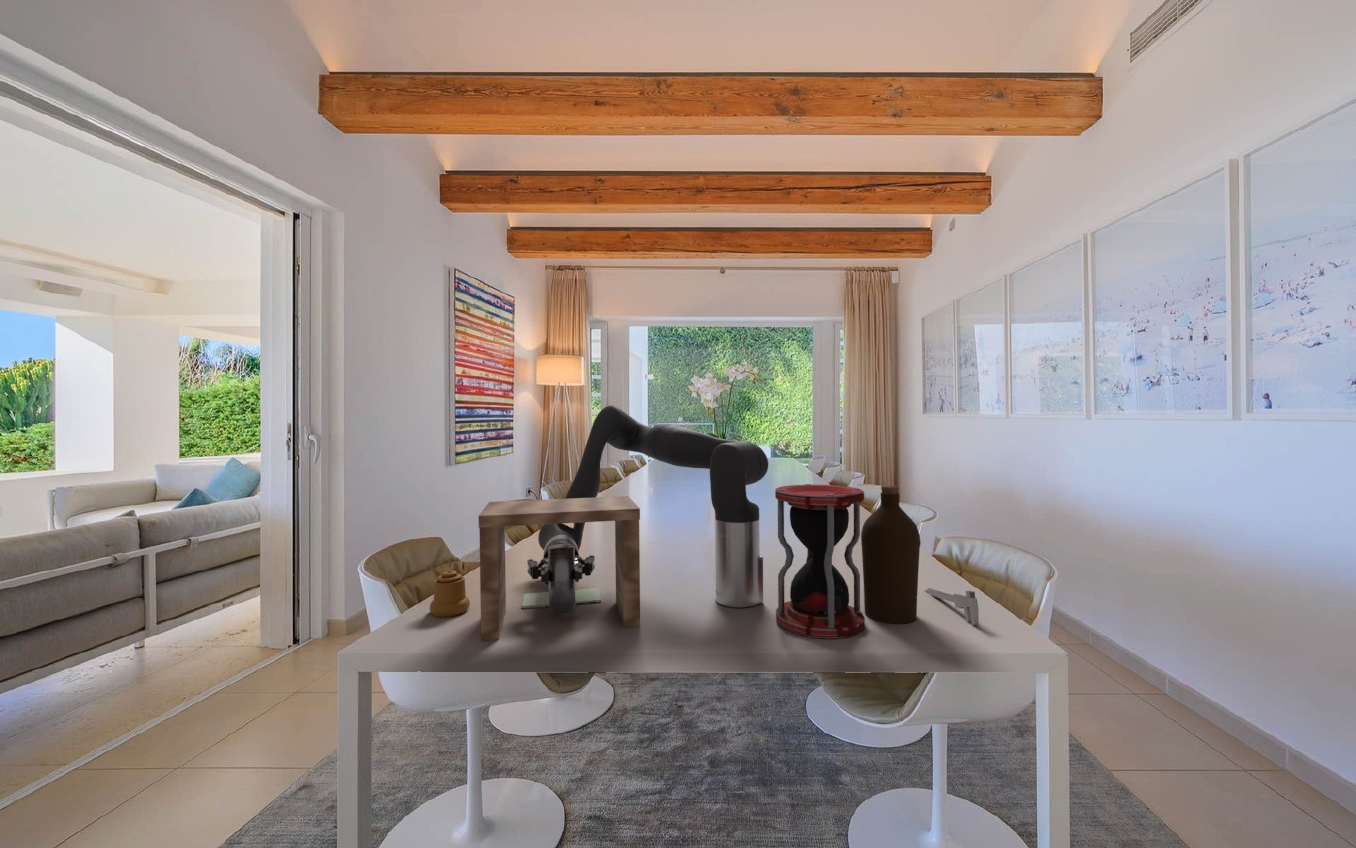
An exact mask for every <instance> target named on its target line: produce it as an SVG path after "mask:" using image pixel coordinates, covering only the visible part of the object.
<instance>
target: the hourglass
mask: <svg viewBox="0 0 1356 848" xmlns="http://www.w3.org/2000/svg"><path fill="white" fill-rule="evenodd" d="M774 493H775V499H776V500H777V538H778V540H779V543H780V545H781V546H782V548H784V551H785V562H784V564H783V566H782V568H780V569H779V572H778V576H777V580H778V581H777V582H778V583H777V585H778V586H777V591H778V592H777V594H778V595H777V597H778V598H777V601H778V605H777V608H776V609H775V620H776V623H777V624H778V625H779V626H780V627H781V628H782V629H784V630H786V631H788V632H790V633H793V634H796V635H800V636H805V637H810V638H815V639H816V638H817V639H831V640H833V639H842V638H848V637H852V636H857V635H858V634H859V633H861V632H862V631H864V627H865V626H866V625H865V623H866V622H865V620H866V618H865V616H864V614H863V613H862V611H861V574H860V571H859V569H858V567H857V566H856V565H855V564H854V560H853V556H852V555H853V551H854V550H853V549H854V547H855V546H856V545H857V543H858V542H859V539H860V537H861V520H860V519H861V518H860V517H861V516H860V515H861V512H860V511H861V509H860V508H861V505H860V504H861V503H863V502H864V500H865V491H864V490H863V489H860V488H856V487H853V486H847V485H846V486H844V485H835V484H811V483H805V484H791V485H782V486H778V487H776V488H775V491H774ZM785 503H787V505H789V506H790V508H789V522H790V526H791V529H792V532H793V533H794V535H795V537H796V538H797V539H798V541H799V542H800V543H801V544H802V545H803V547H805V549H807V552H806V553H807V557H806V561H805V562H806V563H805V564H804V565H802V566H801V567H800V569H799V570H798V571H797V572H796V574H795V575H794V576H793V578H792V580H791V583H790V590H789V593H790V594H789V596H790V597H789V598H790V601H785V576H786V574H787V572H788V570H789V569H790V568H791V566H792V565H793V561H794V558H795V555H794V552H793V548H792V546H791V545H790V544H789V543H788V542H787V540H786V537H785ZM852 505H853V535H852V538H851V540H850V541H849V543H848V544H847V545H846V546H845V551H844V555H843V556H844V559H845V563H846V565H847V567H848V568H850V571H851V573H852V574H853V606H851V605H850V593H849V592H850V591H849V586H848V584H847V582H846V579H845V578H844V576H843V574H841V572H840V570H838V569H837V567H835V565H833V564H832V563H833V554H834V549H835V547H836V545H838V543H840V541H841V540H842V539H843V537H844V536H845V534H846V532H847V531H848V528H849V522H850V513H849V509H848V508H850V507H851V506H852Z"/></svg>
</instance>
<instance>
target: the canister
mask: <svg viewBox="0 0 1356 848" xmlns="http://www.w3.org/2000/svg"><path fill="white" fill-rule="evenodd" d="M548 569H549V584H548V592H549V606H548V611H549V612H550V613H553V614H567V613H571V612H573V611H574V610H576V607H577V606H576V604H575V590H576V582H575V546H574V545H571V544H557V545H552V546H549V547H548Z"/></svg>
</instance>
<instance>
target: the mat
mask: <svg viewBox="0 0 1356 848" xmlns="http://www.w3.org/2000/svg"><path fill="white" fill-rule="evenodd" d="M599 590H600V589H599V588H598V587H597V588H583V589H575V605H577V604H576V603H585V604H587V603H586V602H596V601H601V602H602V598H601V597H602V596H601V594H600V591H599ZM545 606H548V607H549V591H542V592H530V593H523V597H522V604H521V609H522V608H523V609H533V608H545Z"/></svg>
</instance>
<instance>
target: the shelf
mask: <svg viewBox="0 0 1356 848" xmlns="http://www.w3.org/2000/svg"><path fill="white" fill-rule="evenodd" d="M640 510H641V508H640V507H639V506H638V505H637V504H636V503H635V501H634V500H632V498H631V497H630V496H629V495H627V496H623V495H622V496H603V497H602V496H601V497H597V496H596V498H572V499H565V498H552V499H550V498H549V499H548V498H547V499H529V500H527V499H526V500H524V499H523V500H506V501H505V500H499V501H488V503H487V504H486V505H485V507H484V508H483V509H482V510H481V512H480V513H479V515H478V528H479V580H480V582H479V587H480V593H479V594H480V641H481V642H482V641H493V640H500V638H501V637H500V636H501V634H500V633H502V629H503V625H504V622H505V618H506V613H507V596H506V595H507V593H506V591H507V590H506V586H507V585H506V581H507V579H506V577H507V576H506V527H515V526H516V527H517V526H519V527H520V526H537V525H544V524H560V523H563V524H574V523H581V522H585V523H598V522H601V523H602V522H614V534H615V535H614V537H615V538H614V543H615V544H614V545H615V546H614V547H615V548H614V549H615V604H616V603H617V604H616V606H618V607H617V610H618V613H619V615H621V617H620V619H622V620H621V623H622V622H623V623H622V625H624V626H623V628H624V627H625V628H632V627H634V628H636V627H641V577H640V576H641V573H640V571H641V568H640V567H641V566H640V565H641V564H640V561H641V558H640V557H641V556H640V553H641V551H640V520H641V511H640ZM504 617H505V618H504Z"/></svg>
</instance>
